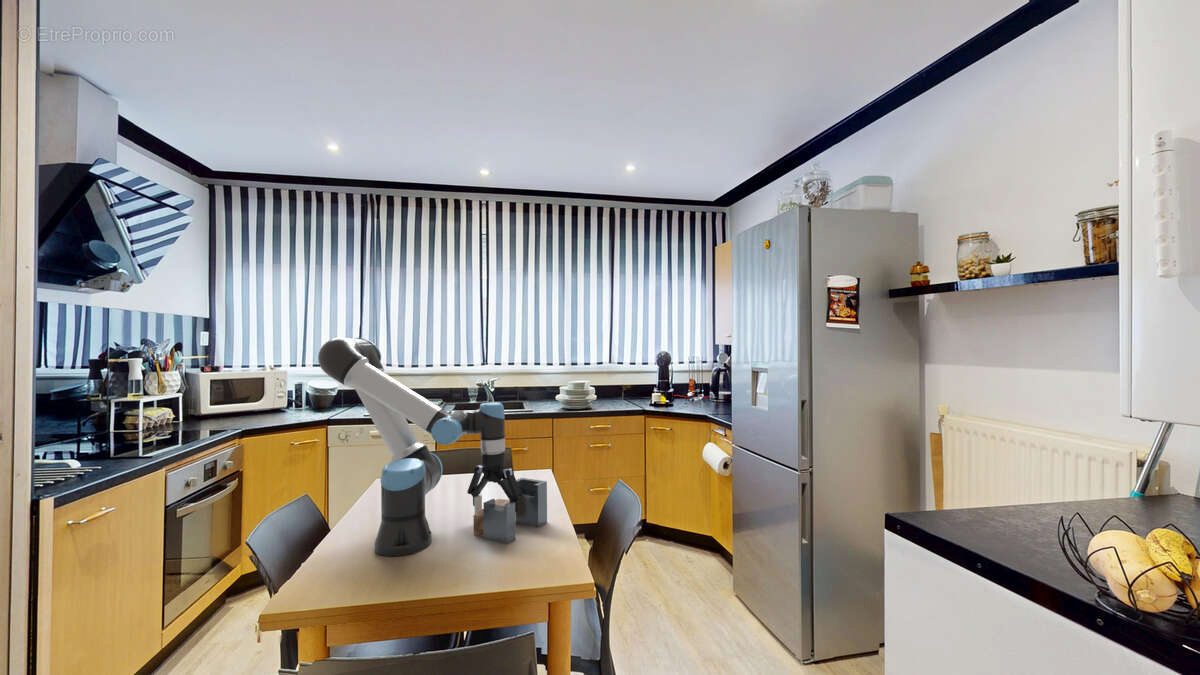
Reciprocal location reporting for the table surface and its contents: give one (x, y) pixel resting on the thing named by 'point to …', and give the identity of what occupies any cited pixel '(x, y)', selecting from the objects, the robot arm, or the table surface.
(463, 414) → the robot arm
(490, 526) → the cup bracket stand
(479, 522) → the walnut rail
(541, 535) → the table surface
